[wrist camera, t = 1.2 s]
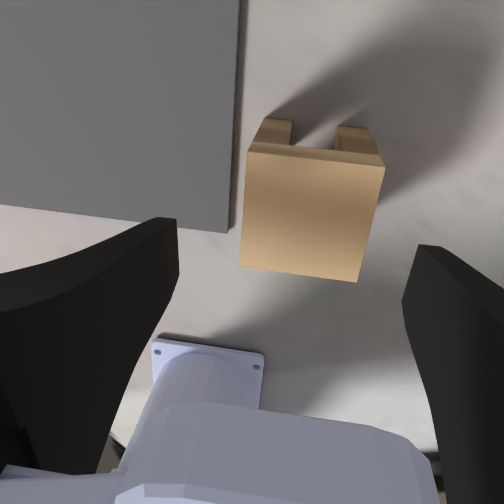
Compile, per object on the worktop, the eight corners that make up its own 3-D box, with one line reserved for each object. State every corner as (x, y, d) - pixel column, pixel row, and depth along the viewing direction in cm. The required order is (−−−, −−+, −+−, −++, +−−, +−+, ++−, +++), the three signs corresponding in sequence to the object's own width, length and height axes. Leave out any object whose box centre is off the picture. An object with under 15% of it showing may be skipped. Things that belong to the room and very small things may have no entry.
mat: (228, 230, 23) (227, 233, 23) (1, 201, 24) (-3, 203, 24) (244, -79, 16) (242, -81, 16) (-78, -101, 17) (-87, -103, 17)
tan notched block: (346, 221, 22) (356, 282, 17) (256, 210, 22) (239, 266, 17) (366, 128, 19) (385, 167, 14) (264, 117, 20) (247, 151, 15)
